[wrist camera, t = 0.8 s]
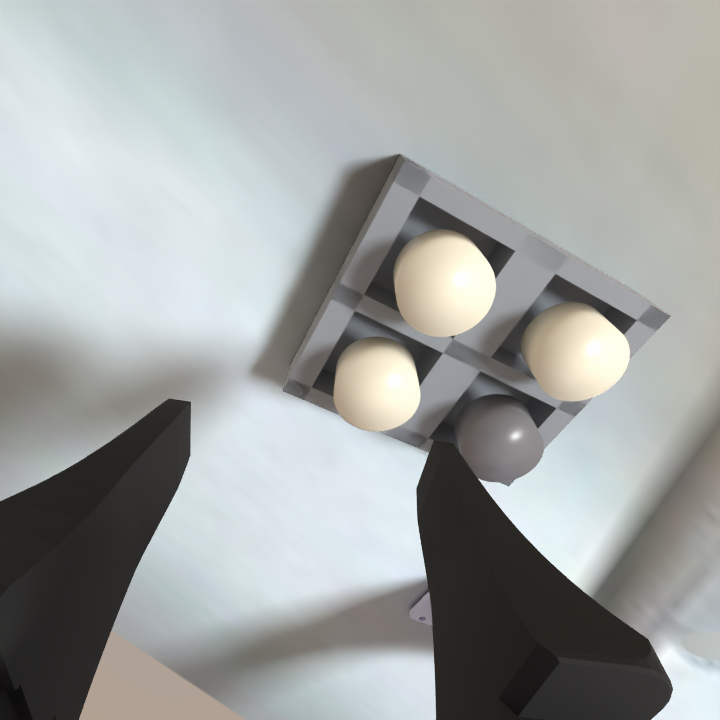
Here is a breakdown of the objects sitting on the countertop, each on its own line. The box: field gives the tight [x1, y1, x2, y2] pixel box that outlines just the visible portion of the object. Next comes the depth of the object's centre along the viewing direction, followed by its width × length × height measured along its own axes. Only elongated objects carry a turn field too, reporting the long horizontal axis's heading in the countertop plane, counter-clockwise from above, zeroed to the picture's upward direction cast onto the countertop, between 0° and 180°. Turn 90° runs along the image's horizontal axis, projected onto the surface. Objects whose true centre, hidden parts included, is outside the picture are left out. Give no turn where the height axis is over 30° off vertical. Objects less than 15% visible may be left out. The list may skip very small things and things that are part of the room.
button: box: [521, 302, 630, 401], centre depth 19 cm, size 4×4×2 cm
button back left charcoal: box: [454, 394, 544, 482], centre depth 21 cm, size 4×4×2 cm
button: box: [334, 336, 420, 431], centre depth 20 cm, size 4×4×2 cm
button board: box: [283, 154, 670, 486], centre depth 21 cm, size 13×11×2 cm
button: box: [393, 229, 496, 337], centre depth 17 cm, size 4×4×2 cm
